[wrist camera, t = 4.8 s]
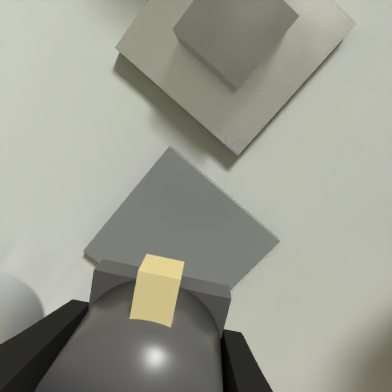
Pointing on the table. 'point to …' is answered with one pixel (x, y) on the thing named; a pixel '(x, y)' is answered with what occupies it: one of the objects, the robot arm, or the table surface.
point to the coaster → (184, 225)
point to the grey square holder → (233, 56)
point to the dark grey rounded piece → (145, 333)
